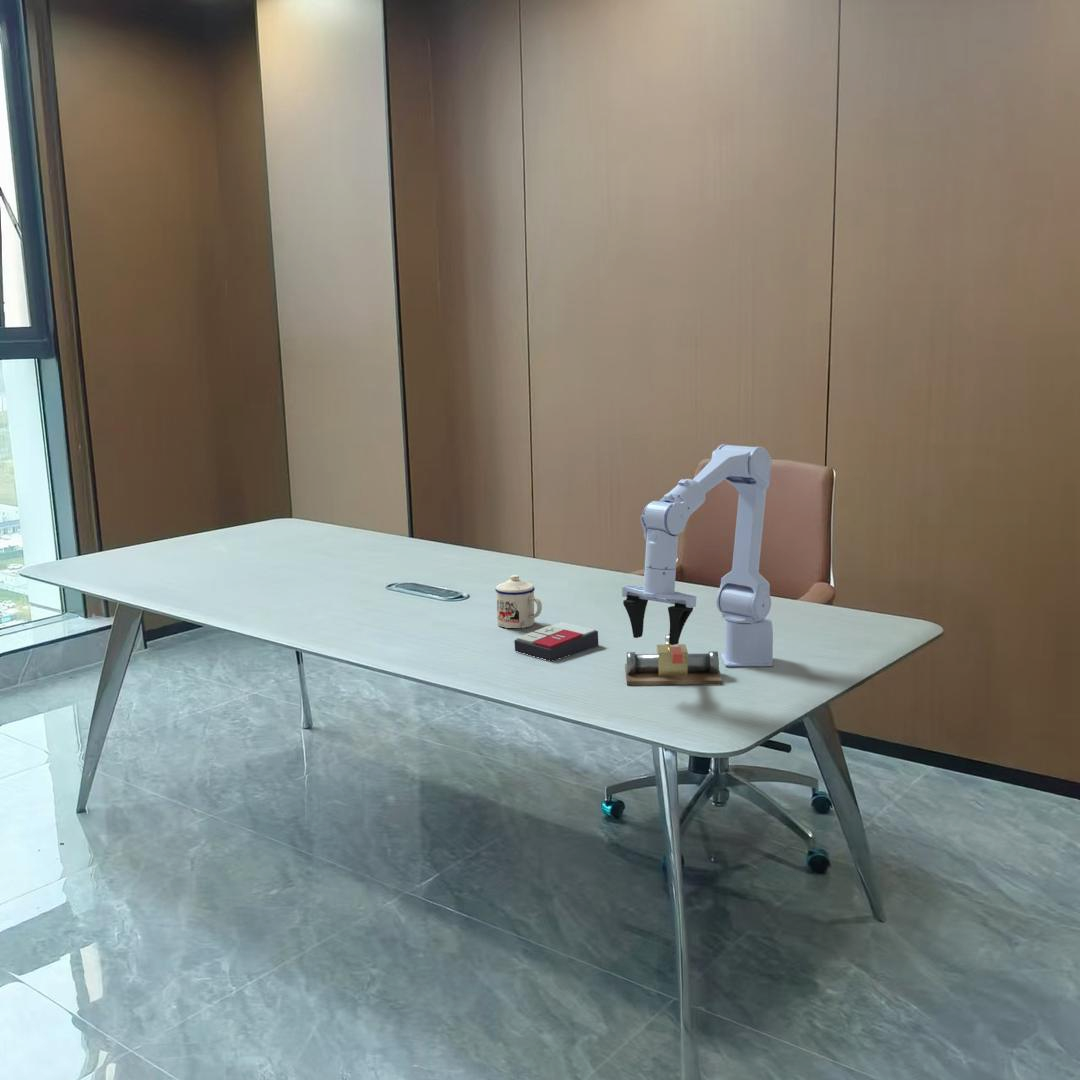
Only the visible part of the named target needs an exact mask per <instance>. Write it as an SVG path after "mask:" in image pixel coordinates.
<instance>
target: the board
mask: <svg viewBox="0 0 1080 1080" xmlns="http://www.w3.org/2000/svg"><path fill="white" fill-rule="evenodd" d="M624 669H625V671H624V672H625V680H626V685H627V686H668V685H667V684H674V685H673V686H676V685H675V684H723V680H722V677H721V676H720V675H721V674H720V672H719V671H718V674H710V673H709V672H688V676H658V672H654V673H636V674H627V663H624Z"/></svg>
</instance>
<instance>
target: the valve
mask: <svg viewBox="0 0 1080 1080" xmlns="http://www.w3.org/2000/svg"><path fill="white" fill-rule="evenodd" d="M678 647H681V651H682V654H683V663H682V664H673V663H672V659H671V648H670V645H669V644H656V653H636V651H627V652H626V664H627V674H636V673H654V672H658V676H688V672H709V673H710V674H718V672H719V670H720V667H719V663H720V662H719V661H720V660H719V659H720V658H719V653H718V651H712V650H711V651H710V650H709V651H708V652H707V653H689V652H688V648H687V645H686V644H685V643H684V644H682V643H681V644H678Z"/></svg>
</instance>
